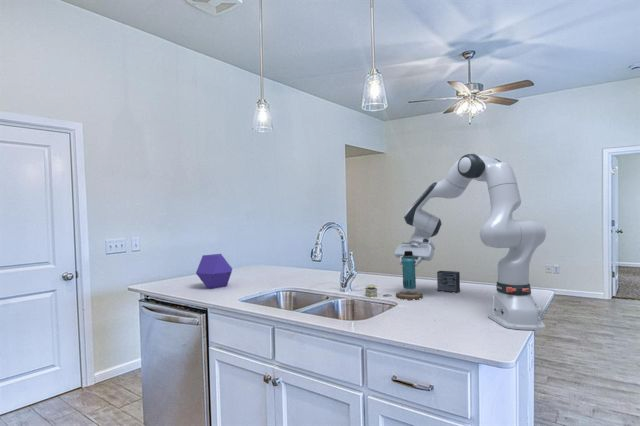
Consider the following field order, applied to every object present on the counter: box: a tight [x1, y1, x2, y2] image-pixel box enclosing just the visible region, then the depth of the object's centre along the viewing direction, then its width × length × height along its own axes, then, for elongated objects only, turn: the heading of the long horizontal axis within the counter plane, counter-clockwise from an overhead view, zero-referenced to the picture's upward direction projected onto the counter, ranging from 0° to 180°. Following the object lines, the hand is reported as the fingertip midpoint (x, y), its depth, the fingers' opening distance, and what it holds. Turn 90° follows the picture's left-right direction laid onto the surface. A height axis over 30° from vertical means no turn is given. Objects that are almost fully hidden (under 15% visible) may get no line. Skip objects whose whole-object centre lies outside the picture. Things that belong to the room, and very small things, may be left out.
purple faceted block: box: [196, 253, 233, 290], centre depth 227 cm, size 22×20×20 cm
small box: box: [436, 270, 461, 294], centre depth 205 cm, size 11×6×10 cm, turn 58°
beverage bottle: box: [401, 251, 417, 290], centre depth 192 cm, size 6×7×20 cm
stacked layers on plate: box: [364, 284, 379, 298], centre depth 196 cm, size 10×9×6 cm
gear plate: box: [395, 291, 424, 301], centre depth 192 cm, size 13×13×2 cm
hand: (408, 264), depth 192 cm, fingers closed on beverage bottle, 6 cm apart
